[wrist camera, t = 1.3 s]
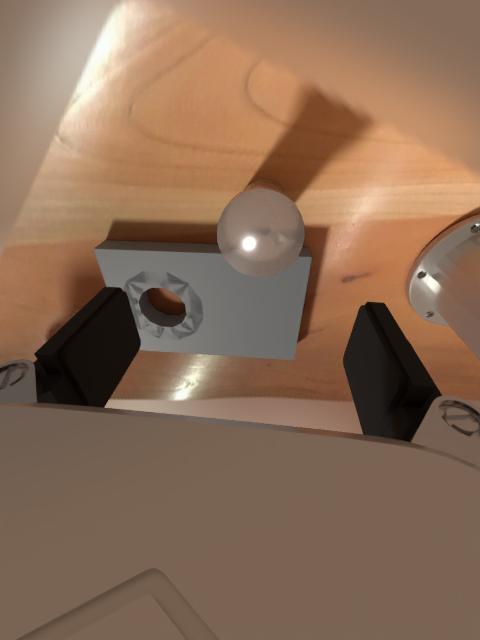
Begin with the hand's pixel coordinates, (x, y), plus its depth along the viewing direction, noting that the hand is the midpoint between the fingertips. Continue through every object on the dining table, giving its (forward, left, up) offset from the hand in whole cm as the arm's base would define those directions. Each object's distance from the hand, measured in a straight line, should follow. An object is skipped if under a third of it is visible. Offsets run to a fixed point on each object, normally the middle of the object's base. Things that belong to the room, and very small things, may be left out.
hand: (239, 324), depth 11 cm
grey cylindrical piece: (-1, 0, -18) cm, 18 cm away
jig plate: (+5, +11, -18) cm, 22 cm away
